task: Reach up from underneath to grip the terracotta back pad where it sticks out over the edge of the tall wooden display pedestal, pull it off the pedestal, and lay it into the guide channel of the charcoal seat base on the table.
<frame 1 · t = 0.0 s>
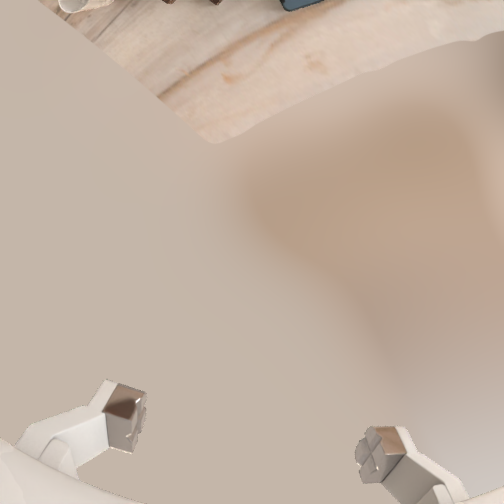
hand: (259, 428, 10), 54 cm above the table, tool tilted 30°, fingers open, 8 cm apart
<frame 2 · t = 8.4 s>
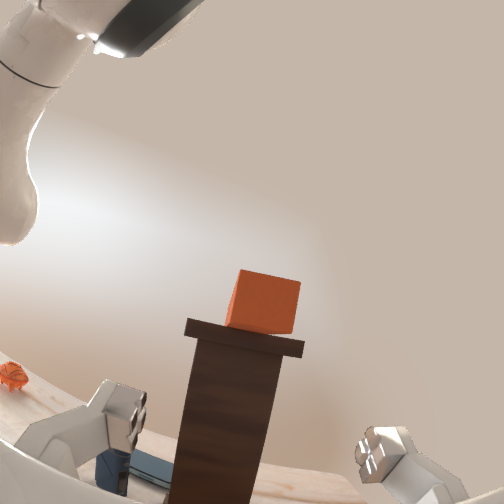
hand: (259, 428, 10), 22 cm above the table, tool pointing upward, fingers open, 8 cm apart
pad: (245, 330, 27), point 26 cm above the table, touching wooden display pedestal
pot: (11, 389, 48), on the table
vaping device: (110, 490, 29), on the table
smartphone: (141, 469, 39), on the table
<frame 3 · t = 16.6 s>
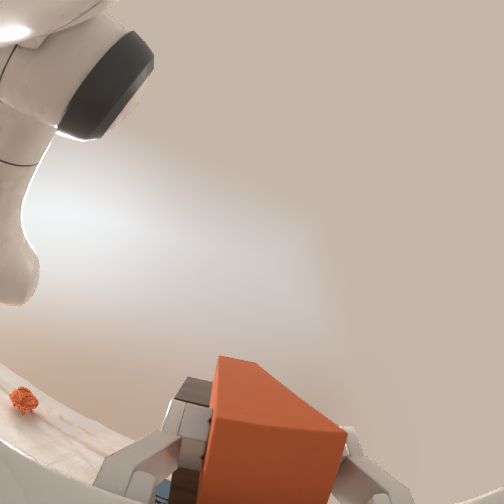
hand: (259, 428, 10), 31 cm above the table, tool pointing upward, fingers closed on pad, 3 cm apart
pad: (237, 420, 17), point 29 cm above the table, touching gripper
pot: (23, 411, 53), on the table
smartphone: (143, 485, 44), on the table
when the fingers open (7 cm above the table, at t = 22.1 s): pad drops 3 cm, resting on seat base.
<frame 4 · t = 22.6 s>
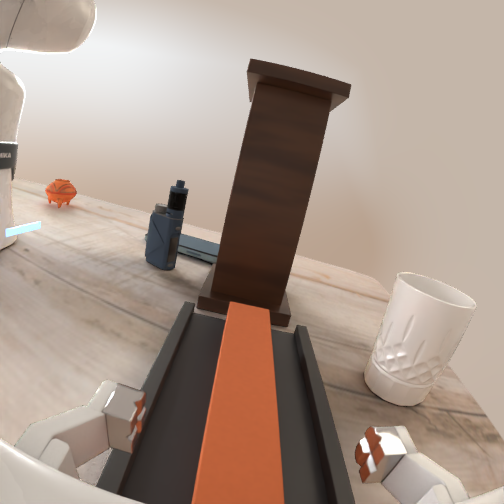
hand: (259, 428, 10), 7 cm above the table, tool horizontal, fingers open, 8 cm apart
white cup: (393, 386, 25), on the table
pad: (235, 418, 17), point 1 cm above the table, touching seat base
pot: (59, 206, 62), on the table
vaping device: (159, 265, 43), on the table
seat base: (234, 417, 19), on the table
smartphone: (188, 251, 53), on the table
wooden display pedestal: (244, 296, 39), on the table
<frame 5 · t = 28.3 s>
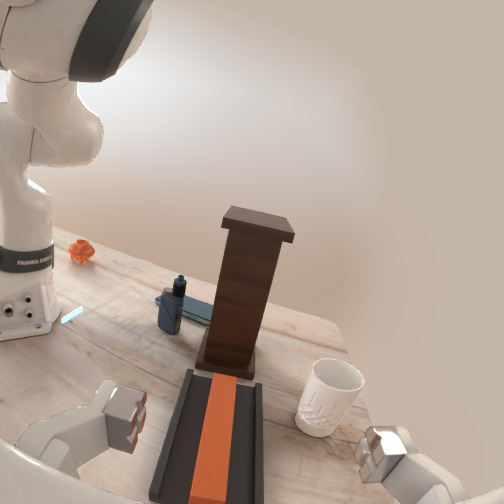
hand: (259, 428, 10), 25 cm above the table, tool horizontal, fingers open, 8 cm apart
white cup: (314, 423, 42), on the table
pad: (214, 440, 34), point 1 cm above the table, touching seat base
pot: (80, 262, 80), on the table
vaping device: (168, 329, 60), on the table
seat base: (214, 439, 36), on the table
smartphone: (188, 310, 70), on the table
wooden display pedestal: (226, 355, 56), on the table
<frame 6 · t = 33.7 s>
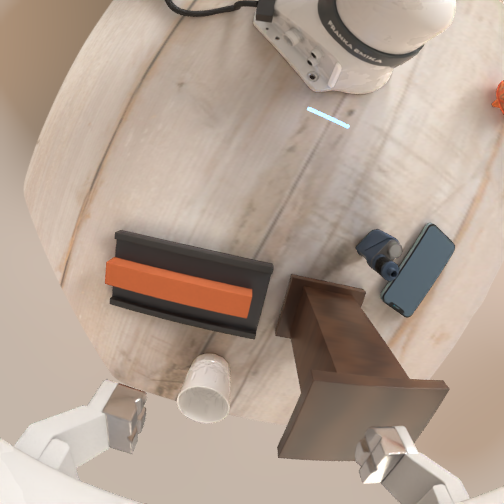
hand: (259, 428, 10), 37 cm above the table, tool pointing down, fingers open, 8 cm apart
white cup: (211, 368, 52), on the table
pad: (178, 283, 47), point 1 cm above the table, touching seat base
pot: (500, 103, 39), on the table
vaping device: (368, 242, 46), on the table
seat base: (187, 283, 48), on the table
smartphone: (417, 269, 47), on the table
wooden display pedestal: (319, 310, 49), on the table
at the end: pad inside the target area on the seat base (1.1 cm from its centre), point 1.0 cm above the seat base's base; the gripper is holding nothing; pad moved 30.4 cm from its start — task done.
